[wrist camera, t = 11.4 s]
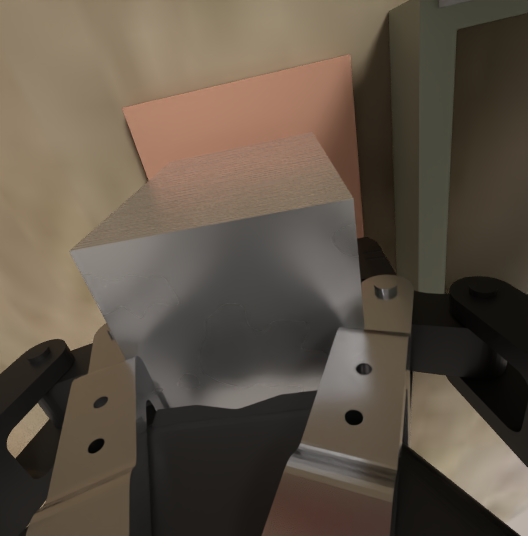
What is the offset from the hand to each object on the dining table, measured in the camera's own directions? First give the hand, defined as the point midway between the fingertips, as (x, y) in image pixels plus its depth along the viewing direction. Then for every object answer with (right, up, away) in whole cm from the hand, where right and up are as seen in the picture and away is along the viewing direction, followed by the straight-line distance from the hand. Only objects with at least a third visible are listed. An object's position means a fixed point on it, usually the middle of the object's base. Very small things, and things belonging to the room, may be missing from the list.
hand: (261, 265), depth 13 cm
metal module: (0, +1, +1) cm, 1 cm away
